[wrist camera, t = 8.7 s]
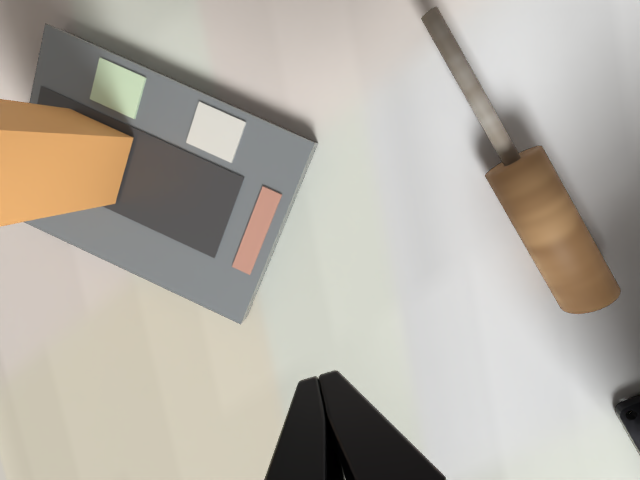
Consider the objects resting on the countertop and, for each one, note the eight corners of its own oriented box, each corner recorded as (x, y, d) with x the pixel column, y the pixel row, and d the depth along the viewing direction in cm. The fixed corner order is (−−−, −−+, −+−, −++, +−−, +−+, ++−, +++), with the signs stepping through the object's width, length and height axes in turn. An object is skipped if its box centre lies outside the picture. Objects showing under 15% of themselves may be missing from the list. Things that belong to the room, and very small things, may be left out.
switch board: (317, 143, 19) (314, 142, 18) (246, 316, 21) (239, 325, 20) (62, 30, 19) (43, 22, 18) (23, 211, 22) (5, 214, 21)
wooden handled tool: (601, 276, 18) (633, 294, 16) (550, 299, 19) (575, 320, 16) (450, 4, 17) (462, -20, 14) (401, 39, 17) (404, 22, 15)
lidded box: (137, 135, 19) (-37, 124, 11) (117, 207, 20) (-56, 244, 12) (67, 104, 19) (-153, 70, 11) (50, 177, 20) (-163, 193, 12)
